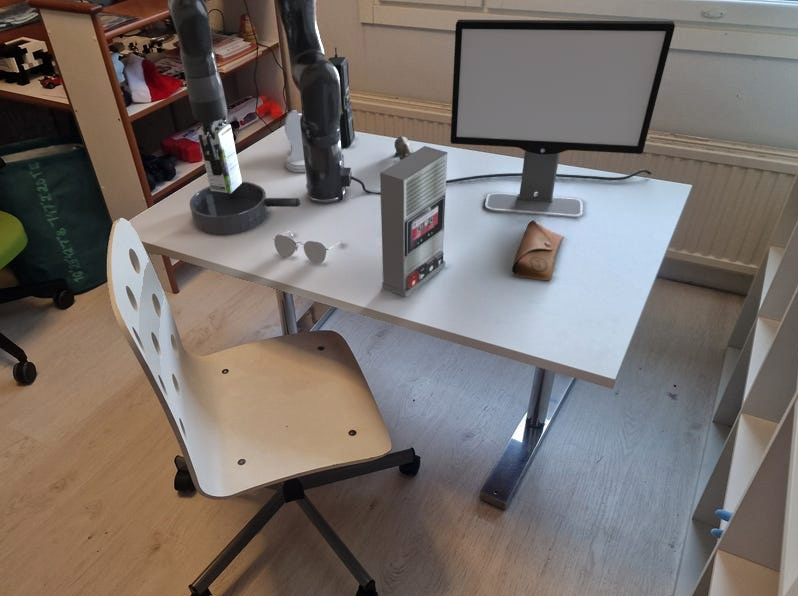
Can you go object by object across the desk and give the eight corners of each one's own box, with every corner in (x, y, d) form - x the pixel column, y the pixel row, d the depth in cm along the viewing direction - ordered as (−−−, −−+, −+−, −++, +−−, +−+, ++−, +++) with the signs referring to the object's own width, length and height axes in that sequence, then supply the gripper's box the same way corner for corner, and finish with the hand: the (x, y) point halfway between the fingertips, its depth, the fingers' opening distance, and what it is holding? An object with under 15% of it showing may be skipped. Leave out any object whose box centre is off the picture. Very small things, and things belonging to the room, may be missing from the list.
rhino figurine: (404, 176, 166) (404, 154, 162) (392, 155, 176) (392, 133, 172) (419, 174, 167) (419, 152, 163) (406, 153, 177) (406, 131, 173)
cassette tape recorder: (406, 299, 126) (406, 181, 109) (382, 288, 129) (378, 172, 112) (446, 267, 133) (451, 153, 117) (422, 258, 136) (424, 145, 120)
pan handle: (302, 204, 152) (301, 196, 151) (300, 208, 151) (299, 200, 149) (265, 204, 153) (264, 196, 152) (263, 208, 152) (262, 200, 150)
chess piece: (326, 167, 173) (321, 112, 163) (292, 175, 170) (285, 119, 161) (315, 154, 180) (309, 100, 170) (282, 161, 177) (274, 107, 168)
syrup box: (209, 191, 149) (195, 131, 140) (222, 180, 153) (209, 120, 144) (230, 194, 147) (217, 133, 138) (243, 182, 151) (231, 122, 142)
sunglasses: (272, 254, 141) (271, 233, 138) (291, 241, 147) (290, 220, 145) (328, 266, 136) (328, 244, 134) (345, 251, 143) (345, 230, 140)
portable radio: (350, 149, 181) (344, 56, 164) (329, 148, 182) (322, 56, 166) (355, 138, 187) (350, 47, 170) (335, 137, 188) (328, 47, 171)
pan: (275, 198, 161) (272, 181, 158) (258, 236, 148) (255, 217, 144) (206, 198, 163) (202, 181, 160) (184, 235, 150) (179, 216, 147)
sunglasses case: (554, 280, 127) (540, 253, 124) (521, 290, 131) (507, 264, 128) (565, 235, 139) (553, 209, 136) (534, 245, 143) (522, 221, 140)
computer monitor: (446, 207, 153) (454, 24, 126) (451, 191, 159) (460, 13, 132) (626, 221, 143) (676, 27, 116) (625, 203, 149) (672, 14, 122)
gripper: (213, 106, 130) (229, 182, 141) (231, 82, 141) (245, 154, 152) (178, 107, 131) (197, 182, 142) (199, 83, 142) (215, 154, 153)
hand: (222, 167), depth 147 cm, fingers closed on syrup box, 6 cm apart
